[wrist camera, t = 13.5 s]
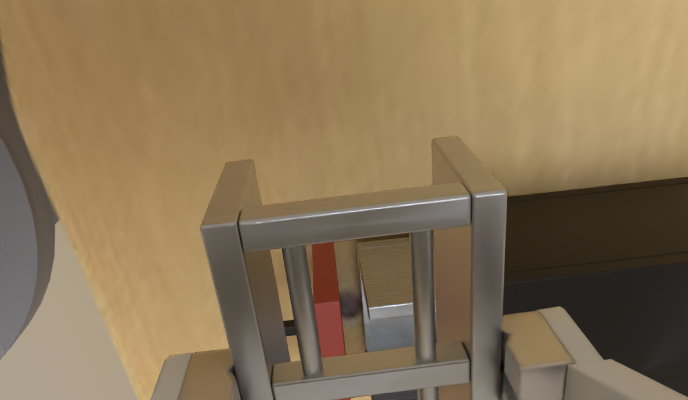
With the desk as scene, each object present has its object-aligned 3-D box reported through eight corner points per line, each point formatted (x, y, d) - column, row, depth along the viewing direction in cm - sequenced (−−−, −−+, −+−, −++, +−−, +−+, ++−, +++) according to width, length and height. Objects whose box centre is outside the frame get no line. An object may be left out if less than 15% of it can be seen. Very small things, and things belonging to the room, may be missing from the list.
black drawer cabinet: (451, 364, 36) (492, 475, 28) (452, 202, 31) (502, 283, 23) (655, 340, 36) (751, 443, 28) (690, 176, 31) (820, 247, 23)
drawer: (258, 390, 34) (248, 482, 28) (227, 243, 30) (207, 316, 24) (527, 358, 35) (574, 442, 29) (539, 209, 30) (600, 271, 24)
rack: (459, 394, 14) (496, 496, 11) (278, 417, 14) (272, 526, 11) (458, 134, 11) (509, 189, 8) (225, 161, 11) (198, 226, 8)
